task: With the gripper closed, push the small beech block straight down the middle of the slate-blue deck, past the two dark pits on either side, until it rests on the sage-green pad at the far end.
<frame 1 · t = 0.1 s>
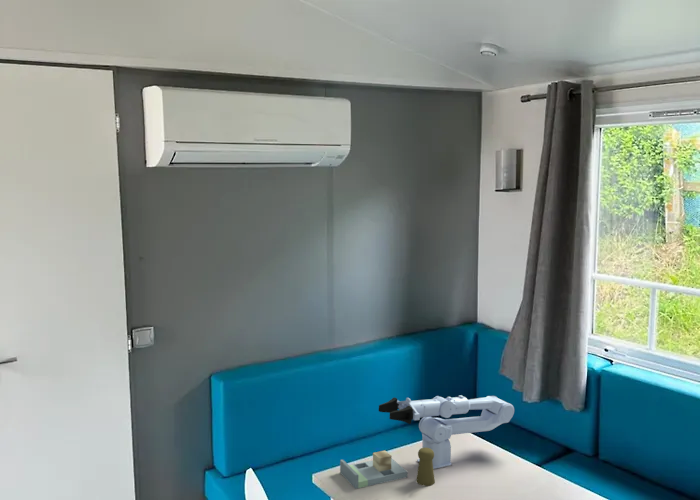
hand: (384, 412, 204), 22 cm above the table, tool horizontal, fingers open, 7 cm apart
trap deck: (374, 474, 206), on the table
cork: (425, 482, 202), on the table
beech block: (382, 467, 207), point 2 cm above the table, touching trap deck
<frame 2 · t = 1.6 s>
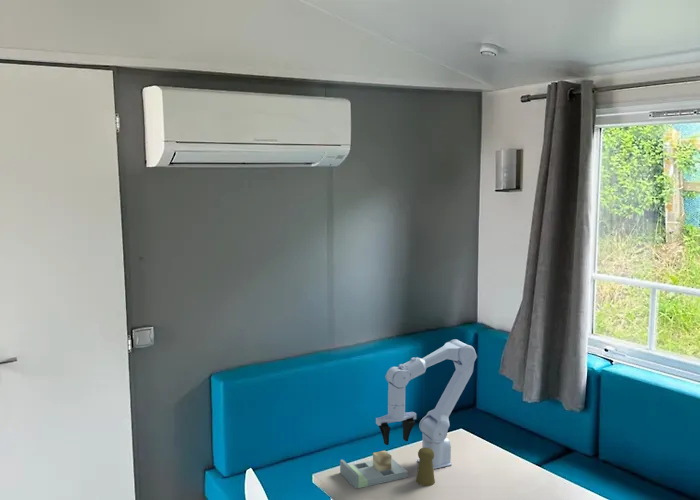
hand: (395, 442, 208), 10 cm above the table, tool pointing down, fingers open, 7 cm apart
nothing on the table moved.
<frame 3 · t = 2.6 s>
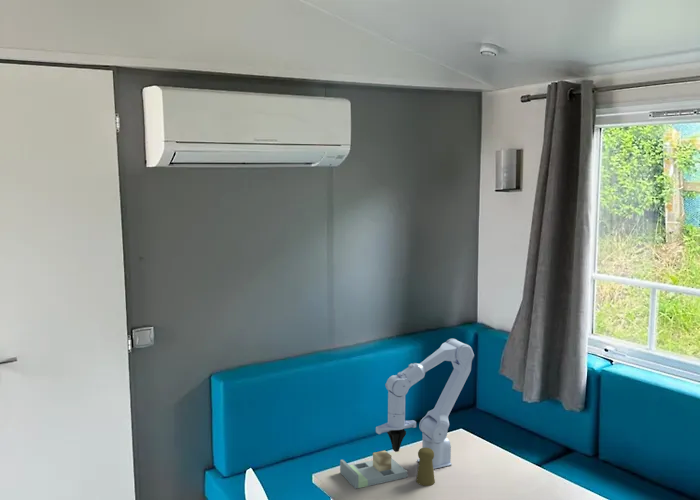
hand: (395, 450, 209), 7 cm above the table, tool pointing down, fingers closed
nothing on the table moved.
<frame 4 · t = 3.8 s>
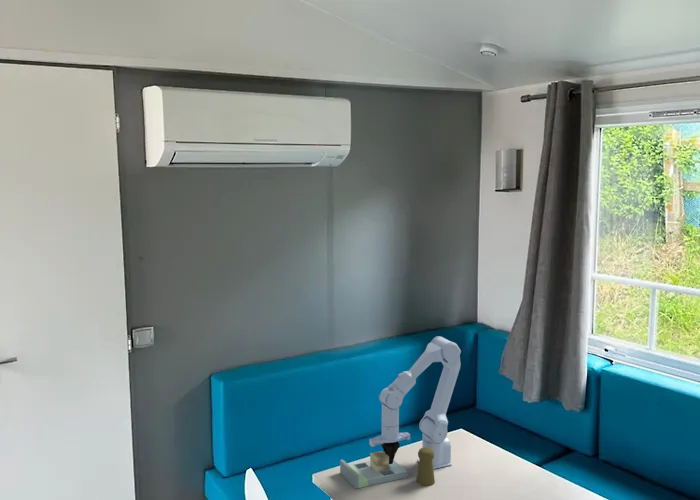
hand: (389, 462, 208), 3 cm above the table, tool pointing down, fingers closed
beech block: (379, 467, 207), point 2 cm above the table, touching gripper
everything else where it was.
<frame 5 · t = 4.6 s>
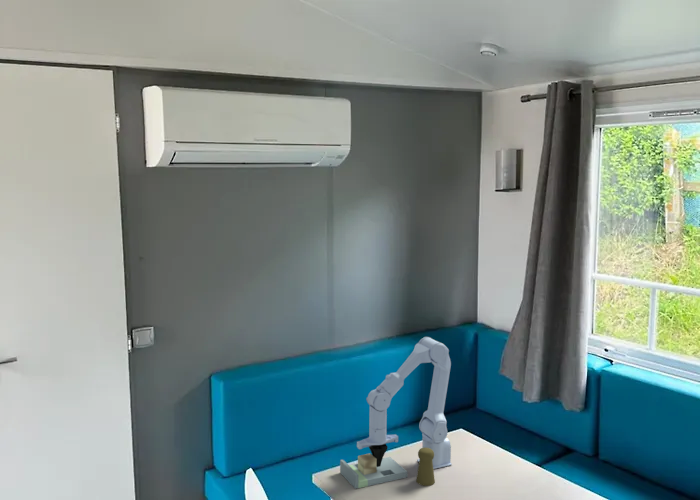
hand: (377, 465, 206), 3 cm above the table, tool pointing down, fingers closed
beech block: (367, 470, 205), point 2 cm above the table, touching gripper
everything else where it was.
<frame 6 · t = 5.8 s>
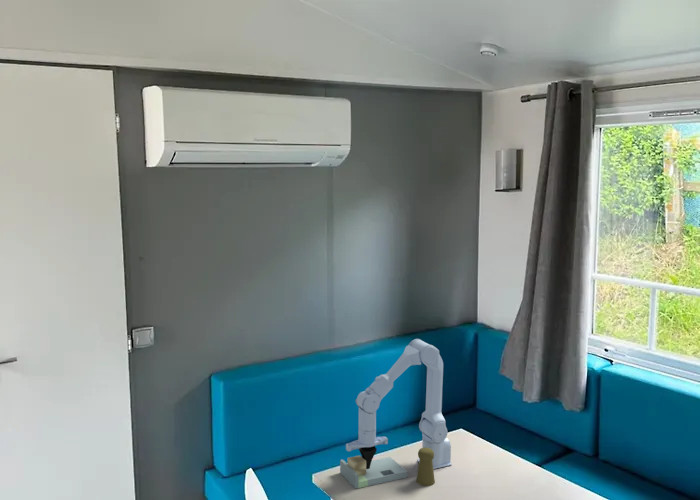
hand: (366, 467, 204), 3 cm above the table, tool pointing down, fingers closed
beech block: (356, 472, 203), point 2 cm above the table, touching gripper, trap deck
everything else where it was.
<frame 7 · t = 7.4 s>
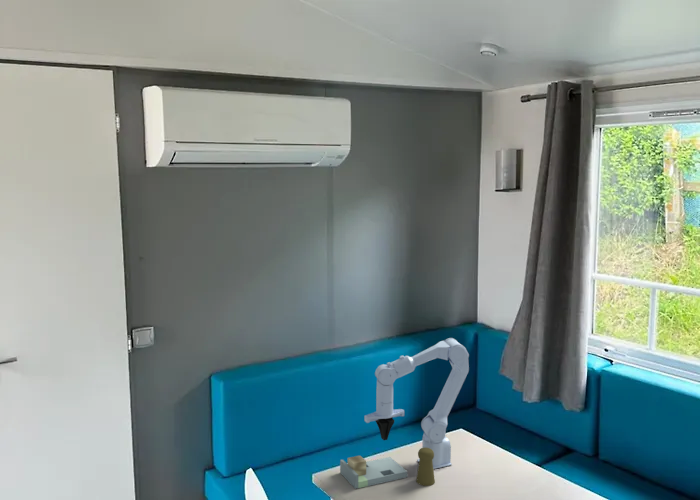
hand: (384, 439, 211), 10 cm above the table, tool pointing down, fingers closed
beech block: (356, 472, 203), point 2 cm above the table, touching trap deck
everything else where it was.
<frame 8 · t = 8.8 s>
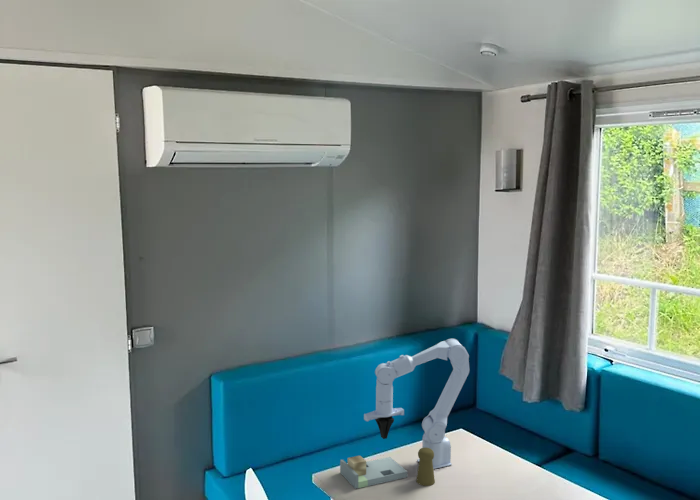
hand: (383, 437, 212), 10 cm above the table, tool pointing down, fingers closed
nothing on the table moved.
at the end: beech block 0.2 cm from the target spot on the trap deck, point 2.0 cm above the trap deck's base; beech block tilted 0° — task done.
